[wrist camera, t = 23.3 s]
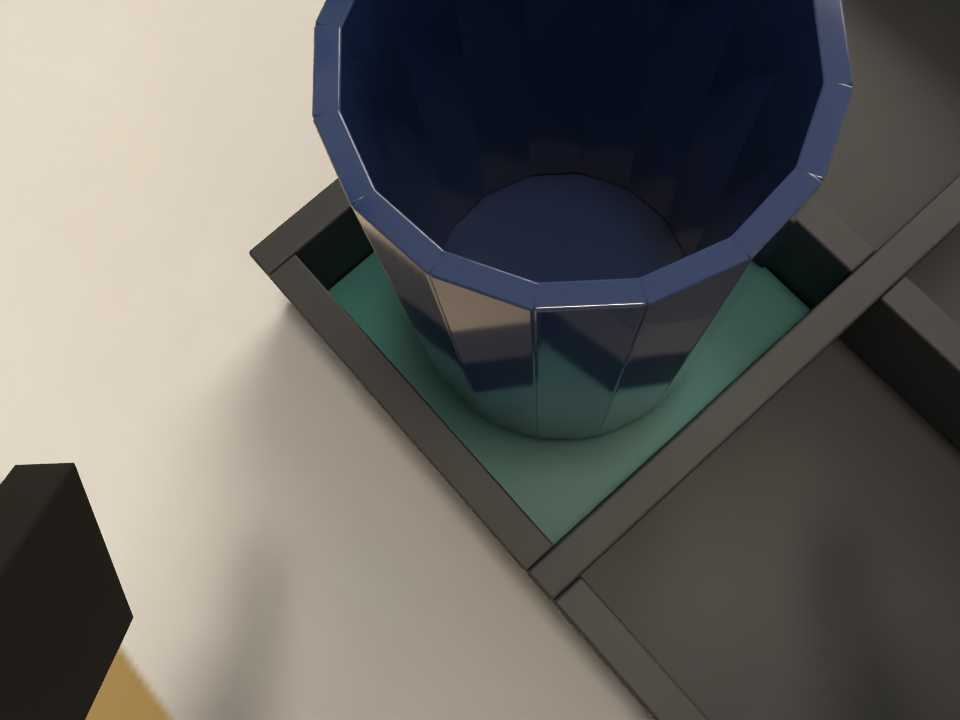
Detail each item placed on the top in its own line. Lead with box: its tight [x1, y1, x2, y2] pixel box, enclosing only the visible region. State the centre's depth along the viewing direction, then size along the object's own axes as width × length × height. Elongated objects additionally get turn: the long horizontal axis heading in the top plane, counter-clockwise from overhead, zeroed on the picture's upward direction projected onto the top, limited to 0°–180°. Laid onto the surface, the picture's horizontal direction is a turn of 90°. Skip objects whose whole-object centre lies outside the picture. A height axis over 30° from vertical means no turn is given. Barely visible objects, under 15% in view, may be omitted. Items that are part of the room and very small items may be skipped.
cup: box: [312, 0, 854, 440], centre depth 17 cm, size 7×7×11 cm
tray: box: [249, 0, 960, 720], centre depth 21 cm, size 20×20×4 cm
